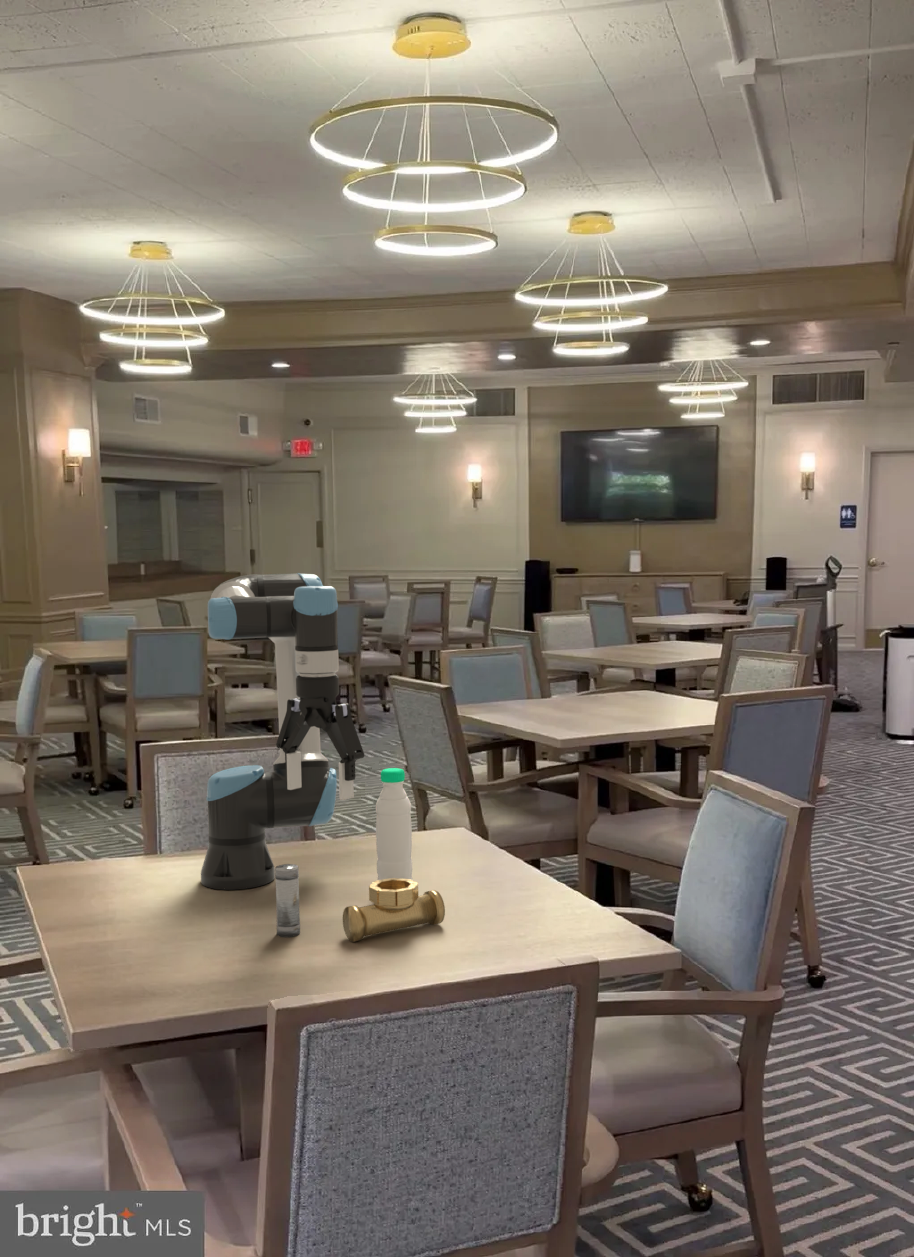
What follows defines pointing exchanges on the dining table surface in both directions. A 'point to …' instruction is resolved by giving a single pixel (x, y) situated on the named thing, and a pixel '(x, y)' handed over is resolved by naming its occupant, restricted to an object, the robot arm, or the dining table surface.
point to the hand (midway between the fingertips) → (320, 793)
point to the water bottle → (393, 827)
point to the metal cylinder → (287, 900)
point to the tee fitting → (393, 909)
